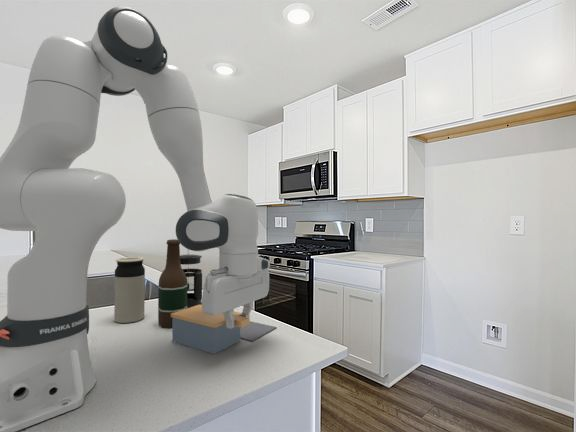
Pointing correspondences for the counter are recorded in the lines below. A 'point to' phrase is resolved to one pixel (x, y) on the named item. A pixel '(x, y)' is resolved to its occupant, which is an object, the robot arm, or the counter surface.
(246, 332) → the mat
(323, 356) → the counter surface
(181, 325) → the tub
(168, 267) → the beer bottle
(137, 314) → the travel mug
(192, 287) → the french press
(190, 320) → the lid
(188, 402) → the counter surface
